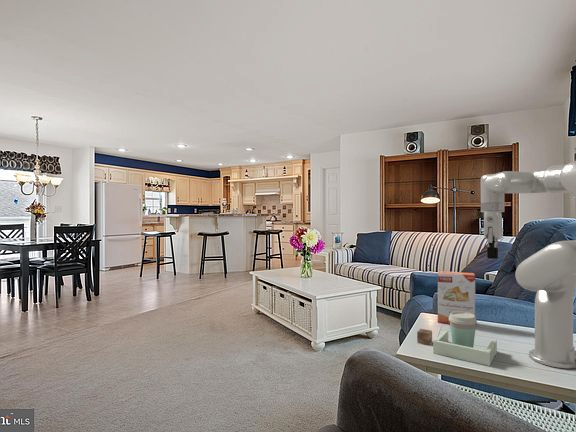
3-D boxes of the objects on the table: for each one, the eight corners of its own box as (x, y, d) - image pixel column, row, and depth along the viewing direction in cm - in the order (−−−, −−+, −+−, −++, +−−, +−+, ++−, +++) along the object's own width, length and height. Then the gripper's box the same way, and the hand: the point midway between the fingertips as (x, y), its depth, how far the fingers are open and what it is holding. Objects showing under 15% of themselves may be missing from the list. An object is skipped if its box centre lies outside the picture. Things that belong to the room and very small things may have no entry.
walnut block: (432, 341, 127) (432, 330, 127) (429, 345, 123) (429, 333, 123) (420, 339, 129) (420, 328, 129) (417, 343, 126) (417, 331, 126)
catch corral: (496, 351, 117) (496, 339, 117) (489, 365, 106) (489, 352, 106) (444, 340, 127) (444, 329, 127) (433, 353, 116) (433, 340, 116)
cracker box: (437, 322, 148) (437, 272, 147) (437, 318, 153) (437, 270, 153) (475, 327, 142) (475, 274, 142) (474, 322, 148) (474, 272, 147)
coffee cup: (475, 347, 121) (475, 312, 120) (478, 357, 113) (478, 319, 112) (448, 344, 124) (447, 309, 123) (449, 353, 116) (448, 317, 116)
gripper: (501, 207, 122) (501, 261, 122) (506, 208, 134) (507, 256, 134) (477, 208, 126) (477, 259, 126) (484, 208, 138) (484, 255, 138)
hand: (492, 258), depth 130 cm, fingers closed
